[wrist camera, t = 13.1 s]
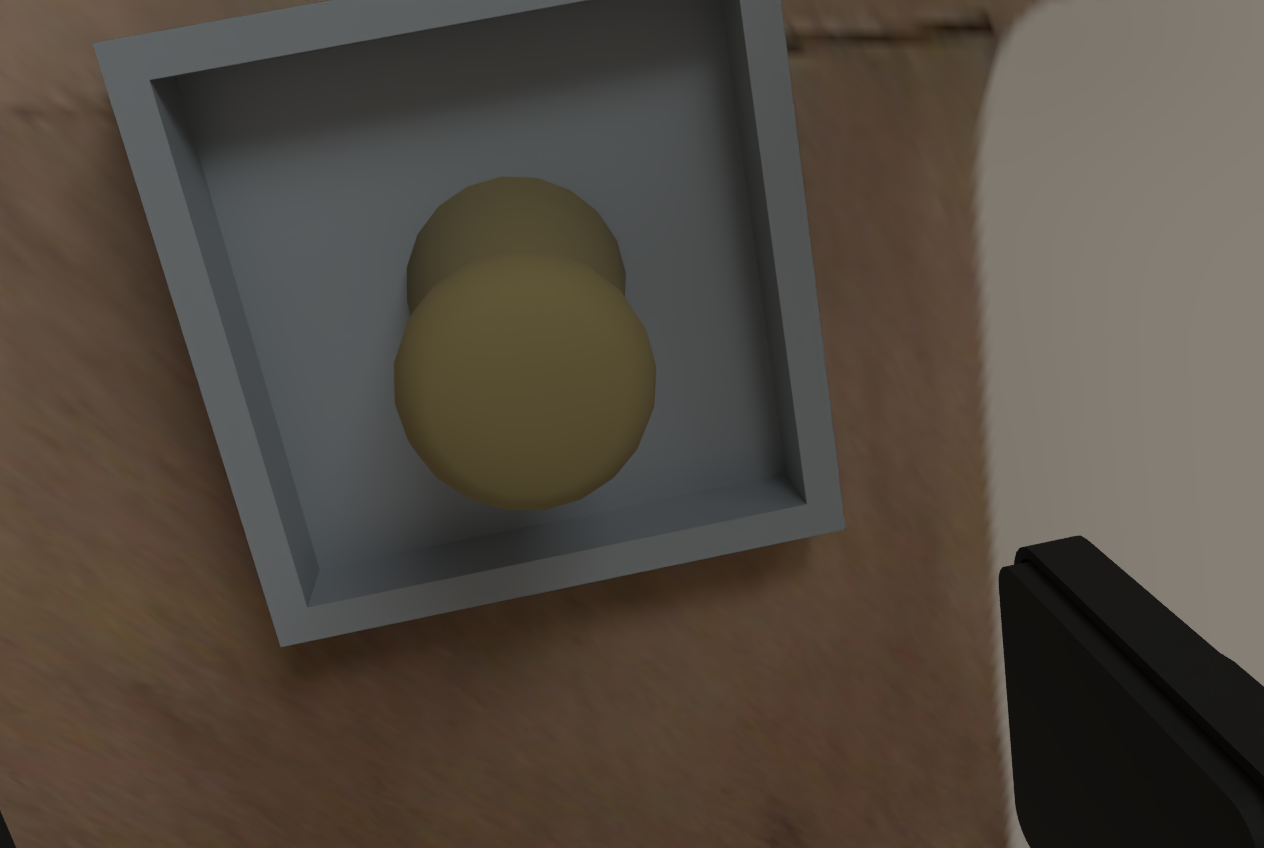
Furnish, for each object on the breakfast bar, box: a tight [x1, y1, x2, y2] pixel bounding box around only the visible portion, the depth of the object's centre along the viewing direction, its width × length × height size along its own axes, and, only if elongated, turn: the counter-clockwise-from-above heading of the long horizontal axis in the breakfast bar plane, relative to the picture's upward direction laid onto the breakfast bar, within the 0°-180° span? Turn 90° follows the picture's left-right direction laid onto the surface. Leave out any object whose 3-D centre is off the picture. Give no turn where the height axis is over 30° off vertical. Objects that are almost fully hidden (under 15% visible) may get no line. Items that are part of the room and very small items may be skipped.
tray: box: [92, 0, 846, 647], centre depth 31 cm, size 16×16×3 cm
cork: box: [394, 177, 656, 510], centre depth 27 cm, size 6×6×11 cm
